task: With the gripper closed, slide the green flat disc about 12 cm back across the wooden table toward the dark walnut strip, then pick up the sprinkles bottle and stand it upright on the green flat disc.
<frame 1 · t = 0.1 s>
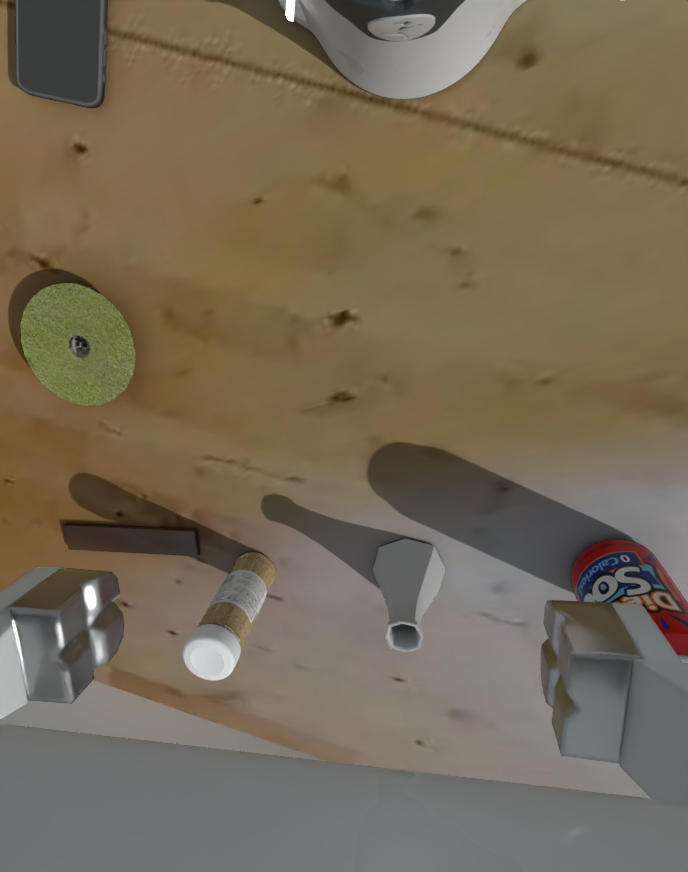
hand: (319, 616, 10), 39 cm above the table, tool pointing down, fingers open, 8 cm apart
soda can: (611, 569, 52), on the table
walnut strip: (132, 537, 59), on the table
green flat disc: (90, 342, 52), on the table
flask: (408, 567, 55), on the table
sprinkles bottle: (256, 567, 58), on the table
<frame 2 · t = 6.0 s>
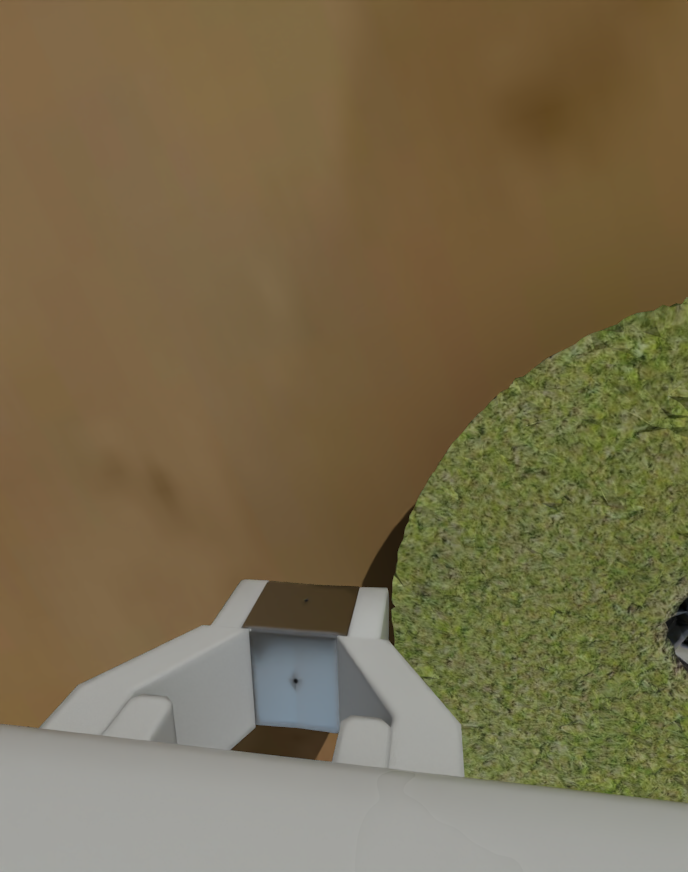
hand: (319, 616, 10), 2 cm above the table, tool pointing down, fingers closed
green flat disc: (686, 580, 11), on the table, touching gripper
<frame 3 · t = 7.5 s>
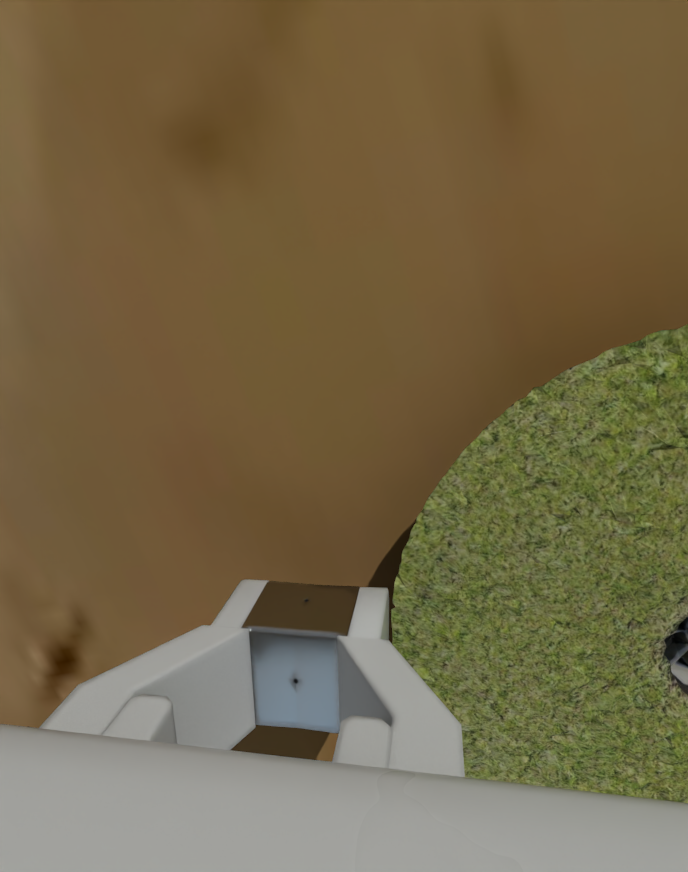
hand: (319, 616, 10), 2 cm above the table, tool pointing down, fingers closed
green flat disc: (684, 599, 11), on the table, touching gripper
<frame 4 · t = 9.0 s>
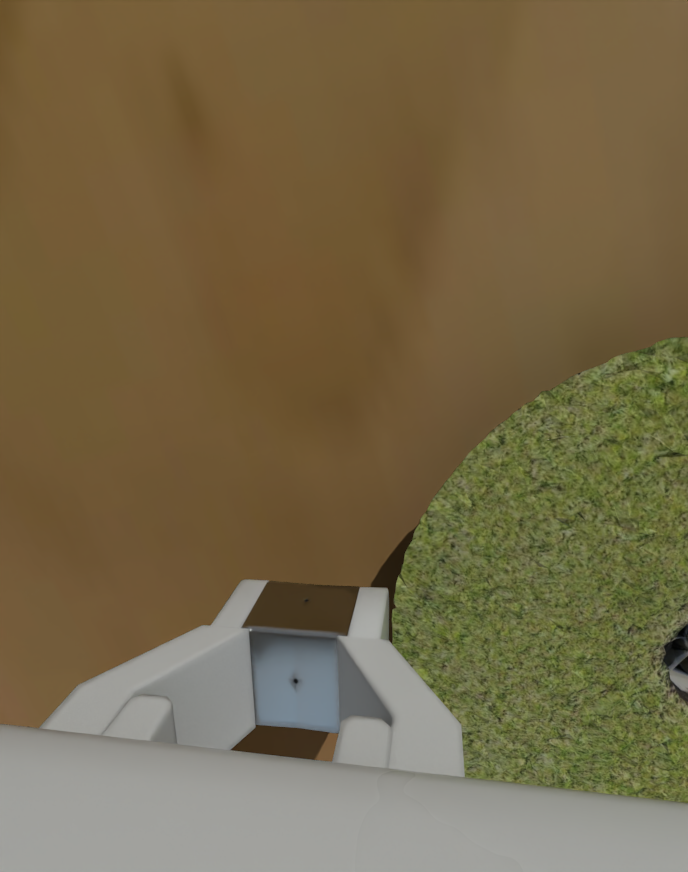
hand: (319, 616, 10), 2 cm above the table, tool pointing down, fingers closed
green flat disc: (683, 605, 11), on the table, touching gripper
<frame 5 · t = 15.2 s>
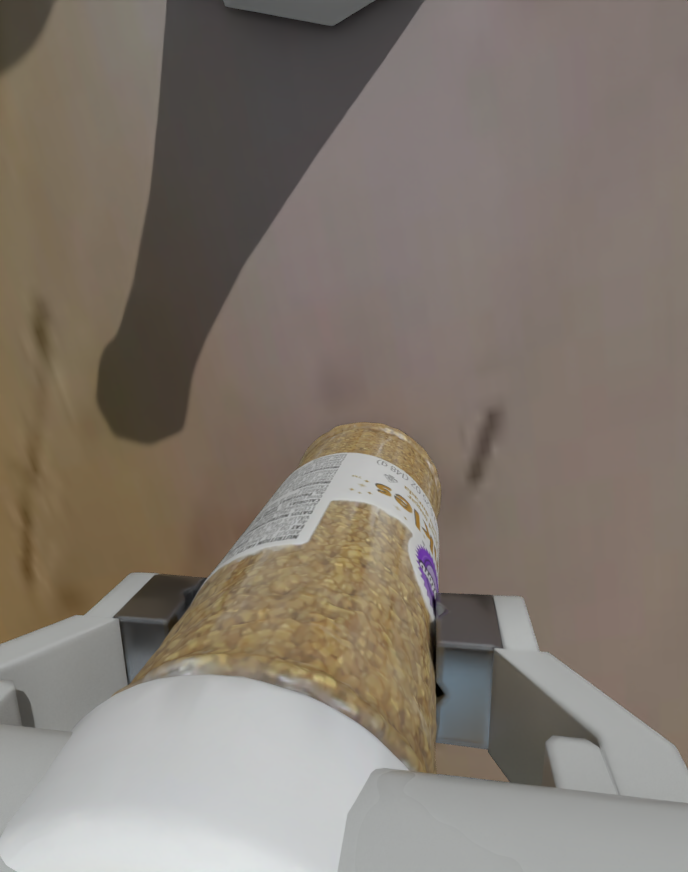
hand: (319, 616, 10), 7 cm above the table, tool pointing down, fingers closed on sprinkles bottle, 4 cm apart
sprinkles bottle: (367, 485, 17), on the table, touching gripper
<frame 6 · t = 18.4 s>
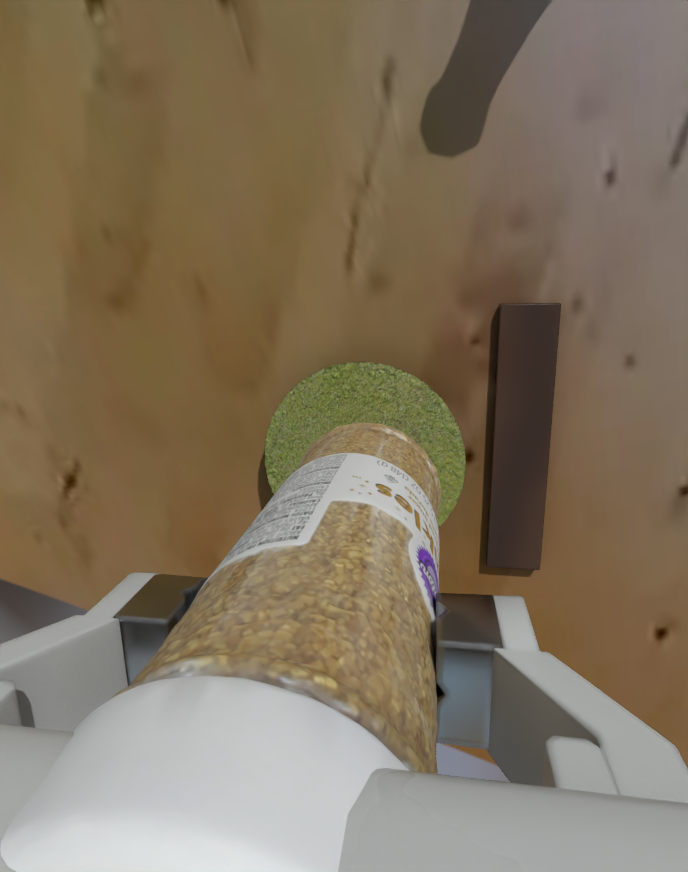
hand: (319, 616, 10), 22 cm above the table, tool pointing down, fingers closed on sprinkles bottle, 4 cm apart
walnut strip: (519, 441, 30), on the table
green flat disc: (366, 452, 32), on the table
sprinkles bottle: (367, 486, 17), point 14 cm above the table, touching gripper
when the fingers open (9 cm above the table, at t = 21.9 s): sprinkles bottle stays where it is, resting on green flat disc.
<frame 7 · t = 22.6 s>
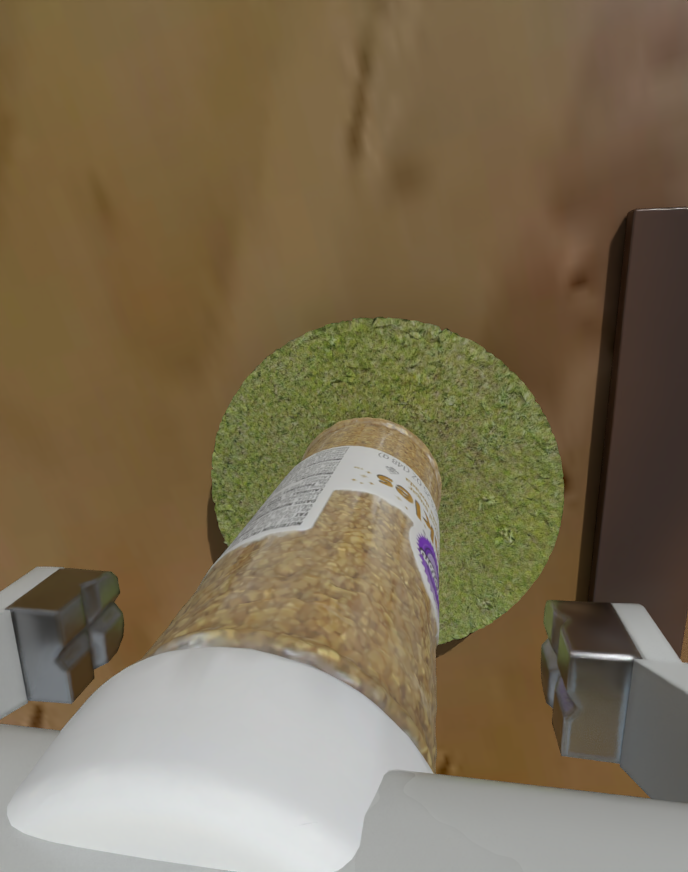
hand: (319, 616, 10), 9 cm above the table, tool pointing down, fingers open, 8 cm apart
walnut strip: (651, 458, 18), on the table
green flat disc: (384, 476, 19), on the table, touching sprinkles bottle
sprinkles bottle: (368, 480, 17), point 2 cm above the table, touching green flat disc
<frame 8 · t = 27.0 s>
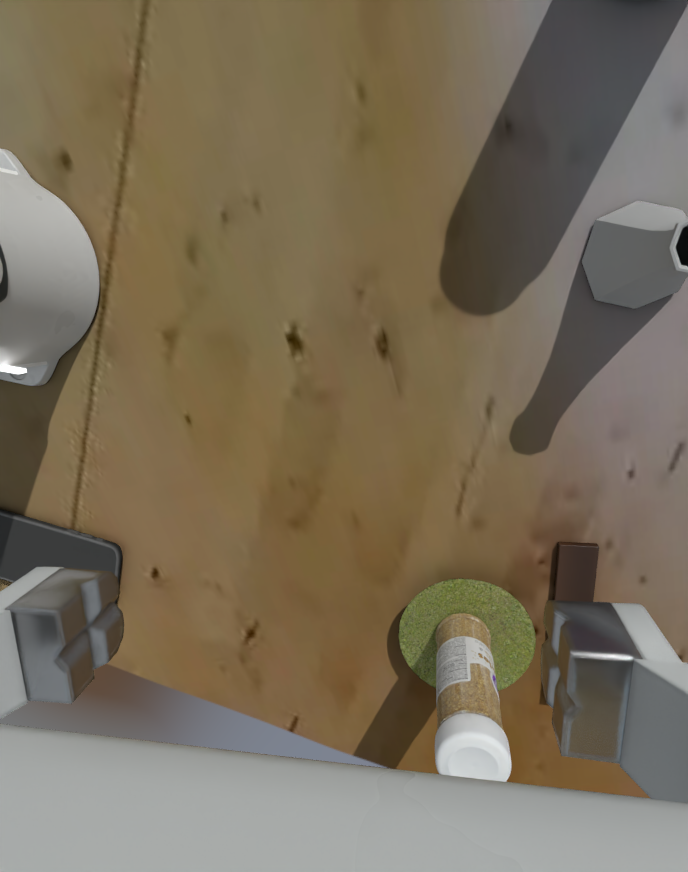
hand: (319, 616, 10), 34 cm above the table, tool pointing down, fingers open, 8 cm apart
smartphone: (51, 555, 53), on the table
walnut strip: (569, 624, 46), on the table
green flat disc: (464, 625, 48), on the table, touching sprinkles bottle
flask: (634, 256, 38), on the table
sprinkles bottle: (462, 632, 46), point 2 cm above the table, touching green flat disc
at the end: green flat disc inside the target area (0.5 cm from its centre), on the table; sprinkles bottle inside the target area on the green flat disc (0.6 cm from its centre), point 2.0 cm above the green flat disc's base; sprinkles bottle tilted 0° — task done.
